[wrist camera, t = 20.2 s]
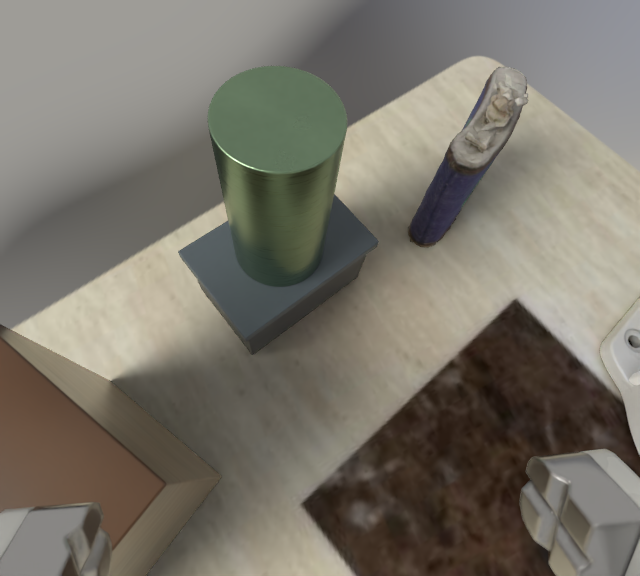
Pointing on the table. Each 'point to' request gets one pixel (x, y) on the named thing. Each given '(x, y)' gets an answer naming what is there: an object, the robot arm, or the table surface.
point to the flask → (470, 155)
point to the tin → (277, 168)
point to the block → (93, 453)
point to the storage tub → (268, 301)
